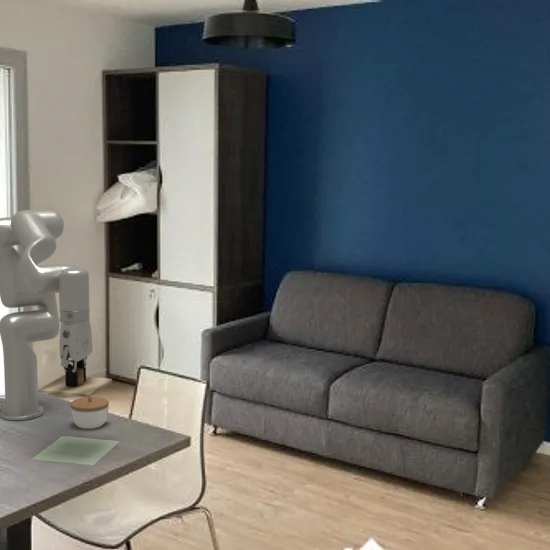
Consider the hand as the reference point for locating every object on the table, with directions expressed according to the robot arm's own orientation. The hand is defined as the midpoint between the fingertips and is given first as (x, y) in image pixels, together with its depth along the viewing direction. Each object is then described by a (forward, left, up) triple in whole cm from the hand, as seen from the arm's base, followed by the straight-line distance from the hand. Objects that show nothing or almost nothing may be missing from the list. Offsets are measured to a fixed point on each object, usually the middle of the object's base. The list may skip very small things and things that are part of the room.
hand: (75, 383), depth 199 cm
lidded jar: (-5, +18, -19) cm, 27 cm away
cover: (0, 0, -1) cm, 1 cm away
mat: (0, -1, -19) cm, 19 cm away
